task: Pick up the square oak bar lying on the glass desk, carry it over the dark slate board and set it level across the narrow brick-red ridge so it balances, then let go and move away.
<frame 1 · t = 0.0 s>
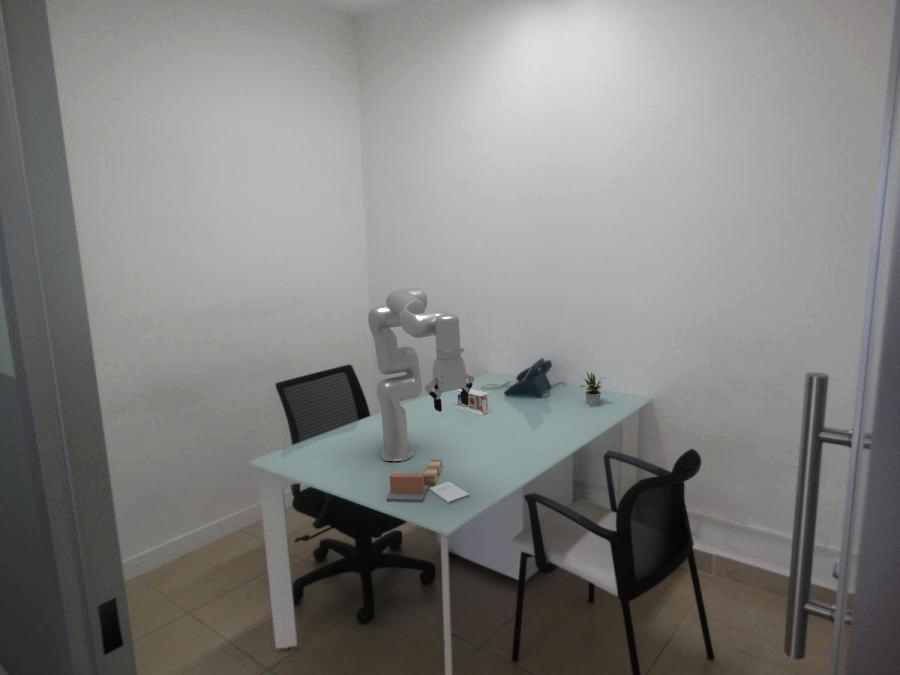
hand: (451, 407, 178), 31 cm above the table, tool pointing down, fingers open, 9 cm apart
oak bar: (433, 478, 202), on the table
fulcrum board: (408, 494, 189), on the table
cigarette display: (472, 410, 274), on the table
external hard drive: (449, 495, 189), on the table
house plant: (590, 404, 271), on the table
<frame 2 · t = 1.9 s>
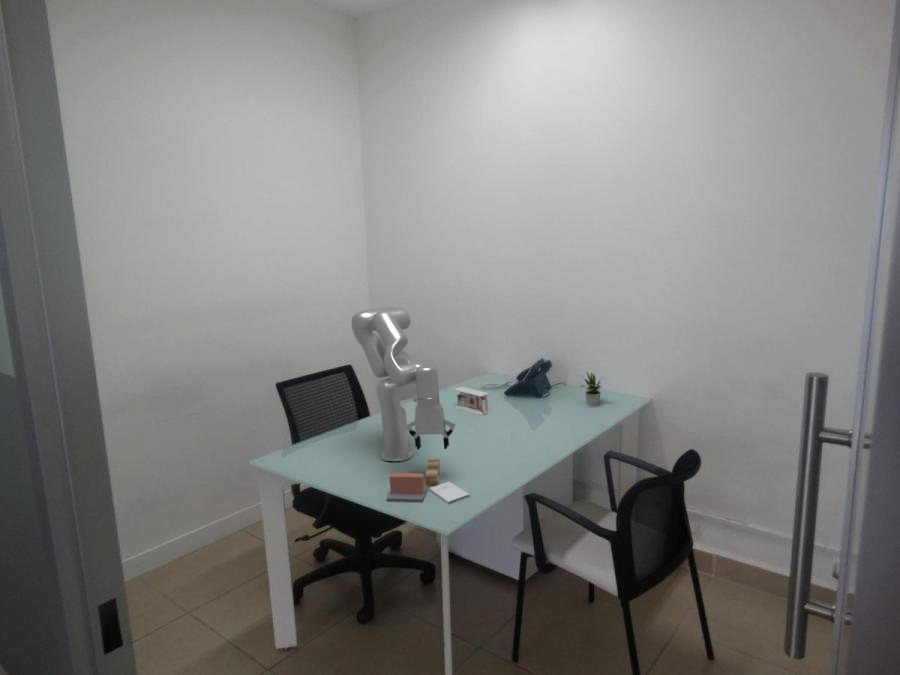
hand: (432, 448, 199), 11 cm above the table, tool pointing down, fingers open, 9 cm apart
nothing on the table moved.
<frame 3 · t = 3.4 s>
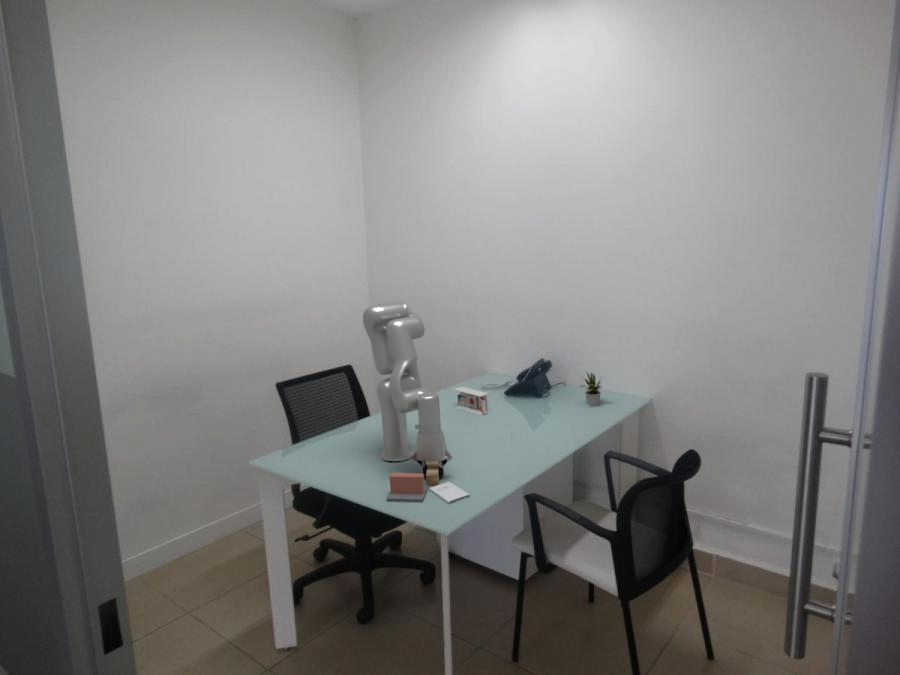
hand: (433, 476, 201), 0 cm above the table, tool pointing down, fingers closed on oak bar, 4 cm apart
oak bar: (433, 477, 201), on the table, touching gripper
everything else where it was.
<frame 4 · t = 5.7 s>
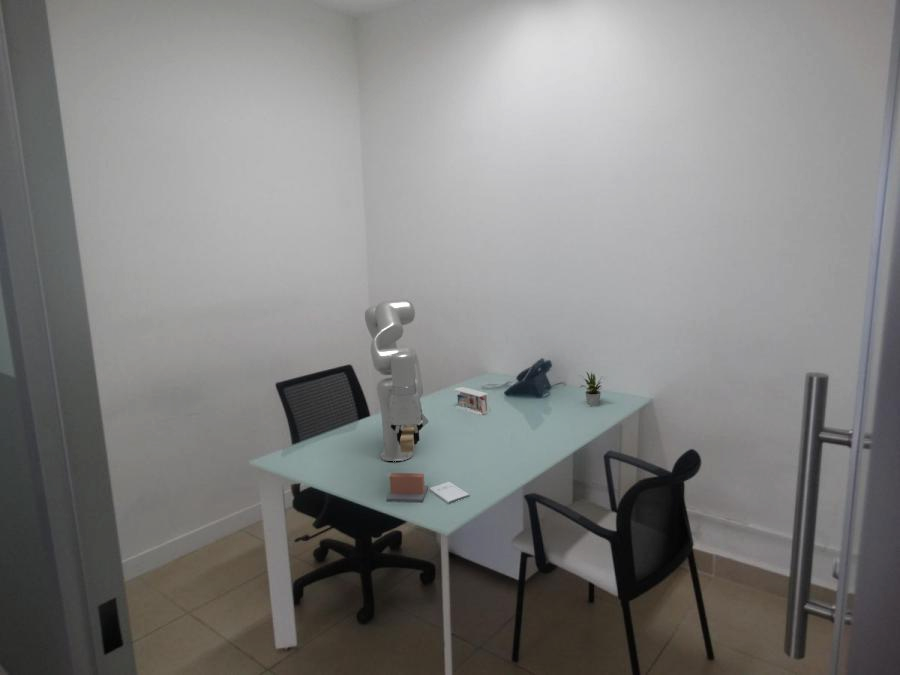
hand: (408, 442, 187), 18 cm above the table, tool pointing down, fingers closed on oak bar, 4 cm apart
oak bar: (408, 444, 188), point 17 cm above the table, touching gripper
everything else where it was.
when the fingers open (8 cm above the table, at t = 7.9 s): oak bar stays where it is, resting on fulcrum board.
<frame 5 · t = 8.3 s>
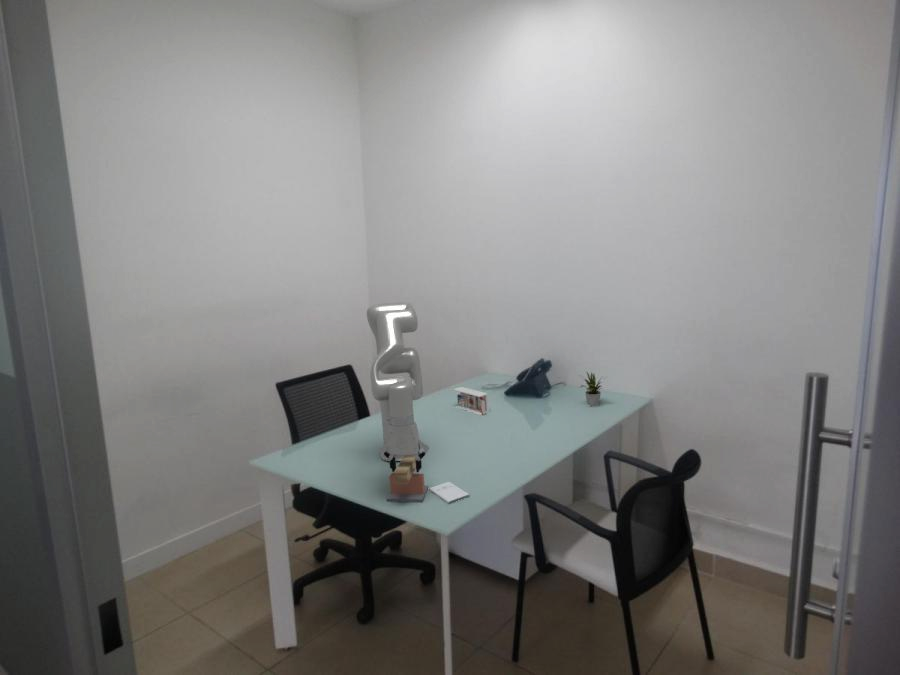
hand: (406, 470, 188), 9 cm above the table, tool pointing down, fingers open, 7 cm apart
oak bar: (406, 475, 188), point 7 cm above the table, touching fulcrum board
everything else where it was.
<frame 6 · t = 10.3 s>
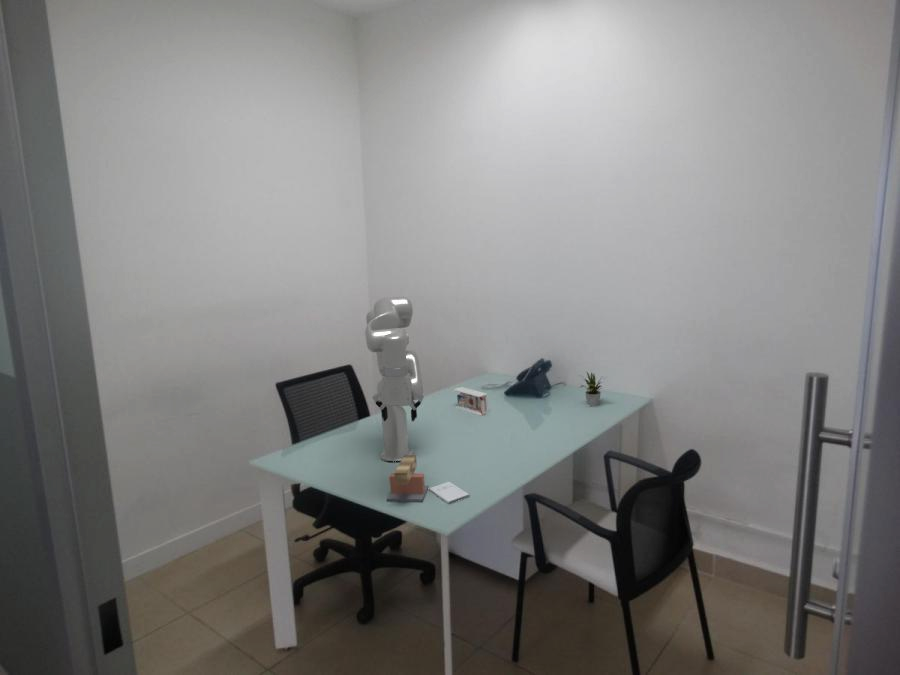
hand: (399, 419, 190), 24 cm above the table, tool pointing down, fingers open, 9 cm apart
nothing on the table moved.
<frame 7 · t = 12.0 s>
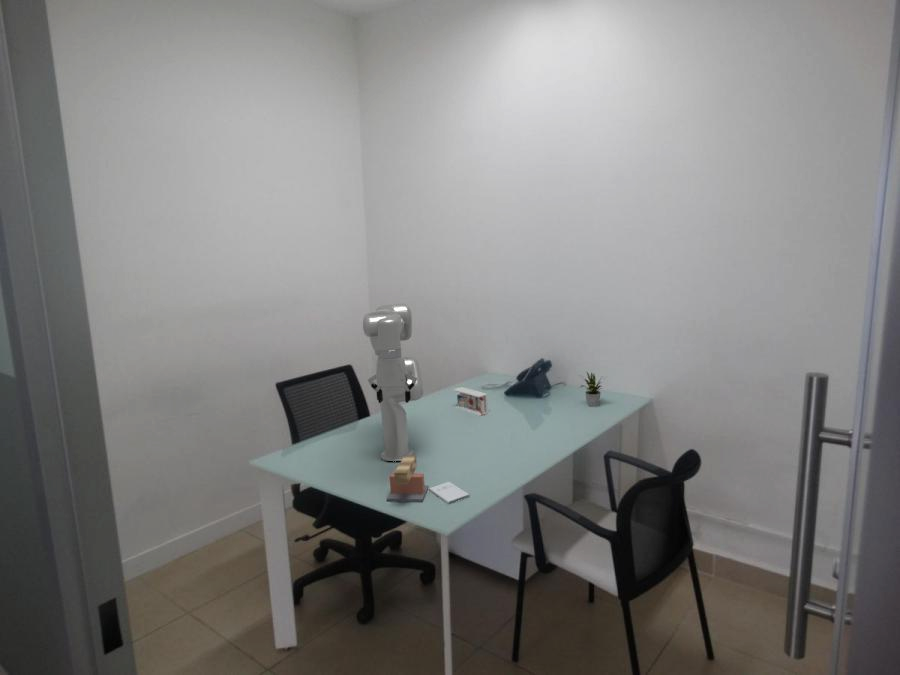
hand: (394, 401, 198), 28 cm above the table, tool pointing down, fingers open, 9 cm apart
at the end: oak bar inside the target area on the fulcrum board (0.1 cm from its centre), point 7.0 cm above the fulcrum board's base; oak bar touching fulcrum board; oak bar tilted 0° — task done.
